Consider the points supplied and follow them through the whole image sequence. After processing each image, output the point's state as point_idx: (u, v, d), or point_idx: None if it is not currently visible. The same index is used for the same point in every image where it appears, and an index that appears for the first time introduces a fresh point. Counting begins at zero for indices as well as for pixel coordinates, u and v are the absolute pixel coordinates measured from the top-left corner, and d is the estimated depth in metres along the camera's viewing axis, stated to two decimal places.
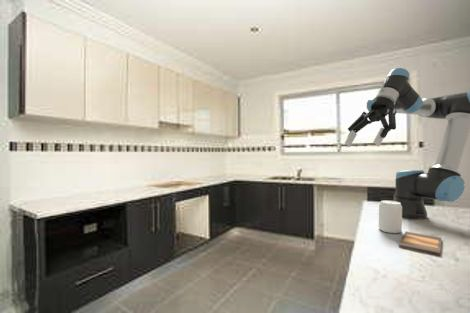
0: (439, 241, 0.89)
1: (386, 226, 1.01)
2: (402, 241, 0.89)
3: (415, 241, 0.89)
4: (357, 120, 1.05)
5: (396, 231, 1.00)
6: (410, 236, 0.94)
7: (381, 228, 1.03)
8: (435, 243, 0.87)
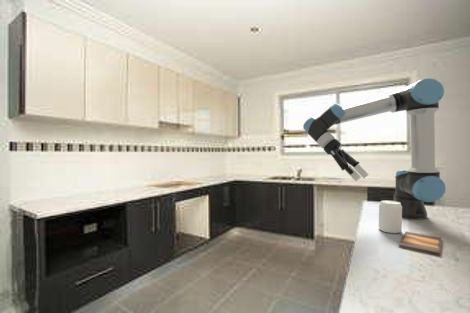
0: (439, 241, 0.89)
1: (386, 226, 1.01)
2: (402, 241, 0.89)
3: (415, 241, 0.89)
4: None
5: (396, 231, 1.00)
6: (410, 236, 0.94)
7: (381, 228, 1.03)
8: (435, 243, 0.87)
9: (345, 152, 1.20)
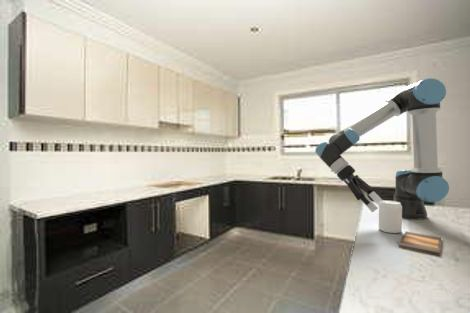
0: (439, 241, 0.89)
1: (386, 226, 1.01)
2: (402, 241, 0.89)
3: (415, 241, 0.89)
4: None
5: (396, 231, 1.00)
6: (410, 236, 0.94)
7: (381, 228, 1.03)
8: (435, 243, 0.87)
9: (359, 178, 1.16)
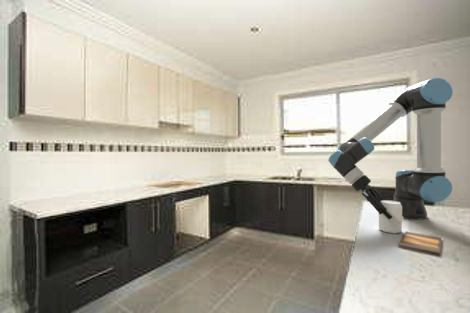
0: (439, 241, 0.89)
1: (387, 226, 1.01)
2: (402, 241, 0.89)
3: (415, 241, 0.89)
4: None
5: (396, 231, 1.00)
6: (410, 236, 0.94)
7: (381, 228, 1.03)
8: (435, 243, 0.87)
9: (376, 190, 1.12)
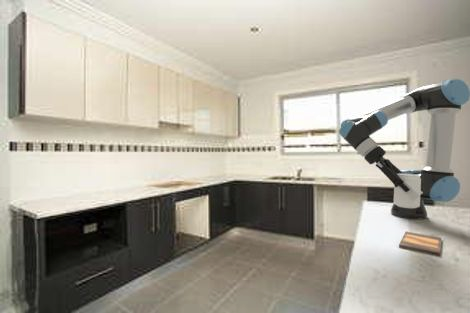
0: (439, 241, 0.89)
1: (403, 200, 0.91)
2: (402, 241, 0.89)
3: (415, 241, 0.89)
4: None
5: (414, 206, 0.90)
6: (410, 236, 0.94)
7: (397, 203, 0.93)
8: (435, 243, 0.87)
9: None
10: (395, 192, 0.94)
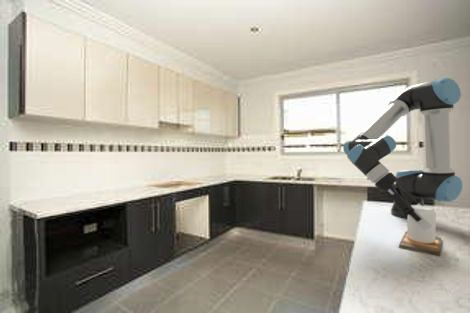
0: (439, 241, 0.89)
1: (418, 235, 0.87)
2: (402, 241, 0.89)
3: None
4: None
5: (429, 241, 0.86)
6: None
7: (411, 237, 0.89)
8: (435, 243, 0.87)
9: (401, 188, 0.98)
10: (409, 226, 0.90)
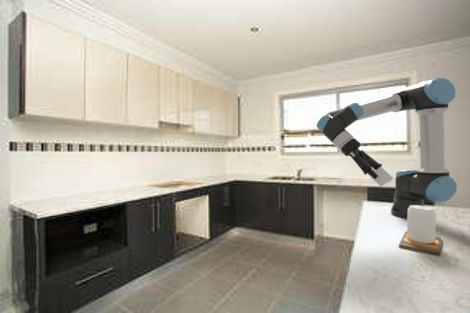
0: (439, 241, 0.89)
1: (418, 235, 0.87)
2: (402, 241, 0.89)
3: None
4: None
5: (429, 241, 0.86)
6: None
7: (411, 237, 0.89)
8: (435, 243, 0.87)
9: (365, 153, 1.06)
10: (409, 226, 0.90)
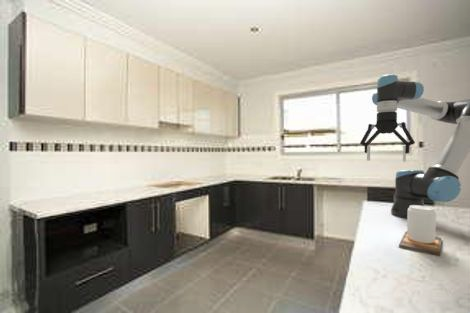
0: (439, 241, 0.89)
1: (418, 235, 0.87)
2: (402, 241, 0.89)
3: None
4: (367, 134, 1.13)
5: (429, 241, 0.86)
6: None
7: (411, 237, 0.89)
8: (435, 243, 0.87)
9: (371, 129, 1.14)
10: (409, 226, 0.90)
